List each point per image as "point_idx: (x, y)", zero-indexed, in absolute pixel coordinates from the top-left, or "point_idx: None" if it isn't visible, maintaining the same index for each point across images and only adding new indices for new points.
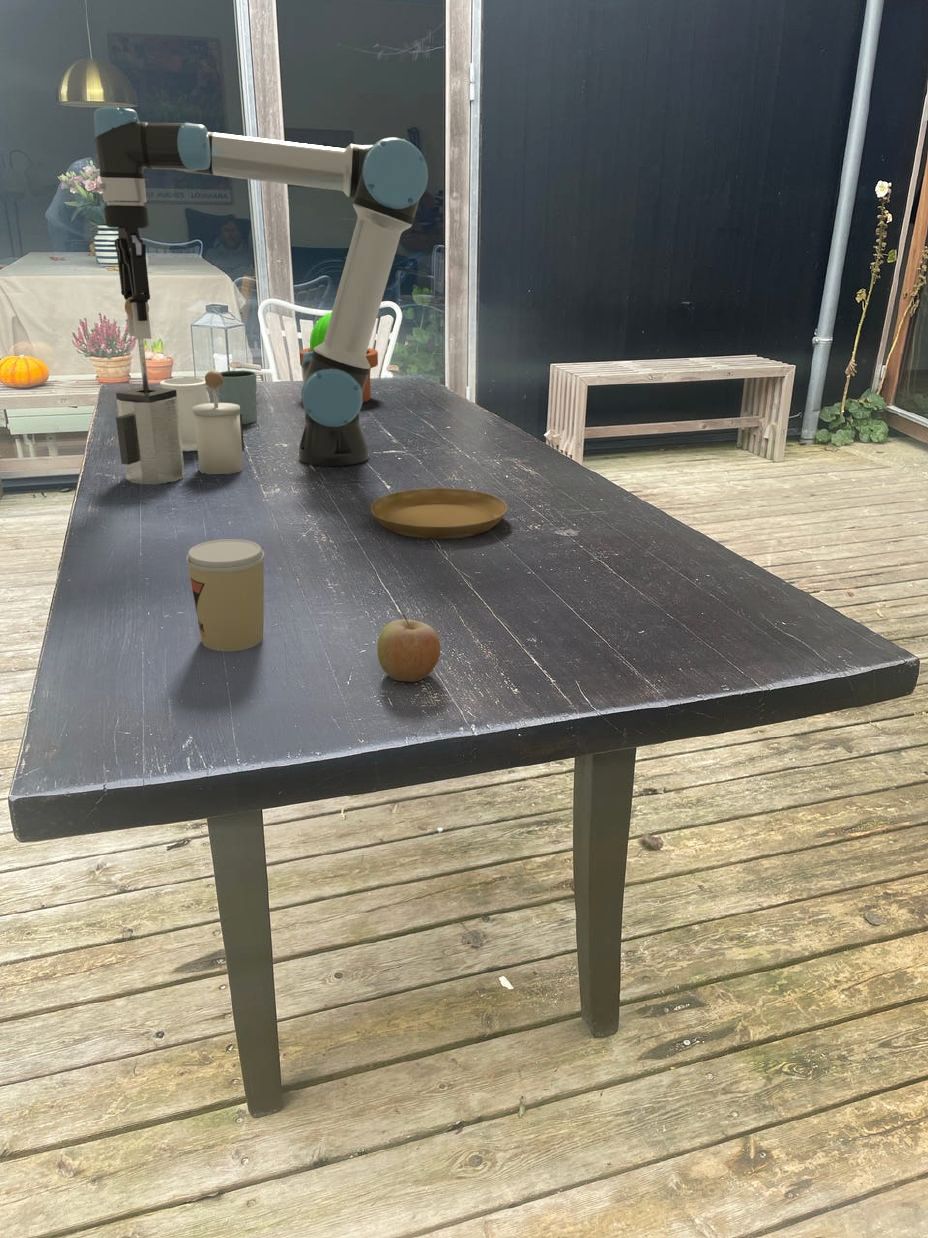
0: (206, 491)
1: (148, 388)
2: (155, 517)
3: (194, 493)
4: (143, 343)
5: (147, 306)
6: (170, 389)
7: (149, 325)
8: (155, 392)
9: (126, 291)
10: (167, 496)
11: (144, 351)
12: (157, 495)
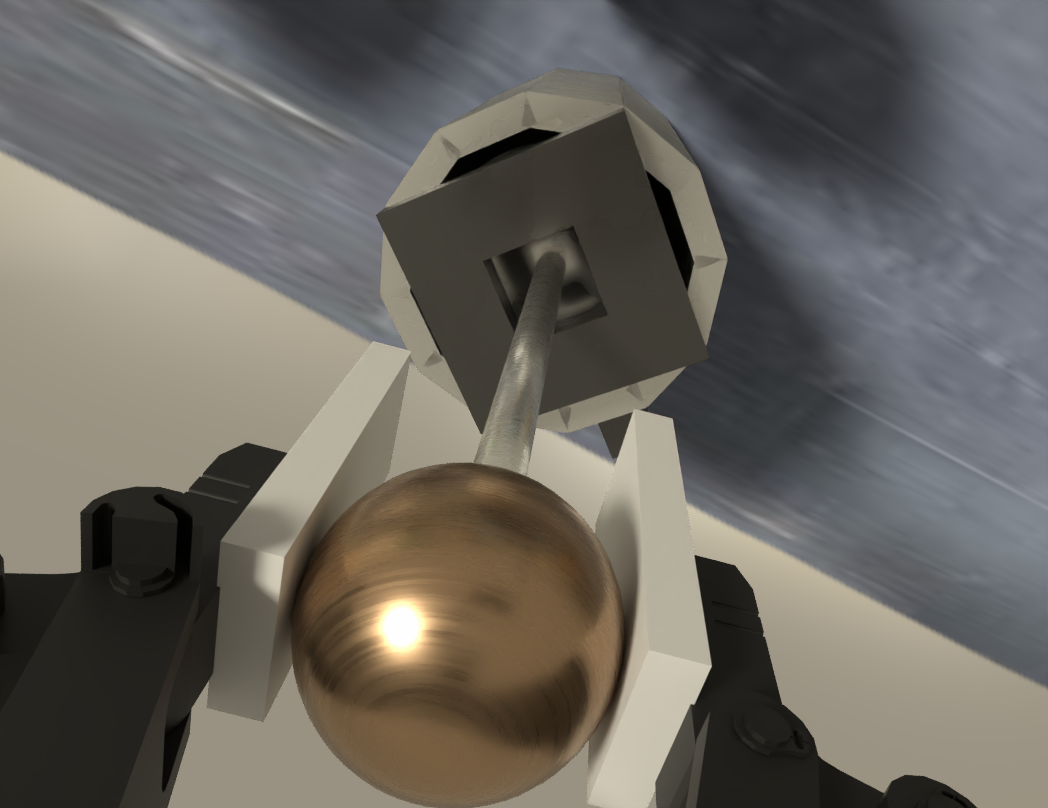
0: (906, 148)
1: (556, 282)
2: (1019, 443)
3: (890, 200)
4: (532, 401)
5: (705, 628)
6: (584, 133)
7: (679, 484)
8: (621, 267)
9: (164, 801)
10: (843, 295)
11: (534, 370)
12: (803, 313)
